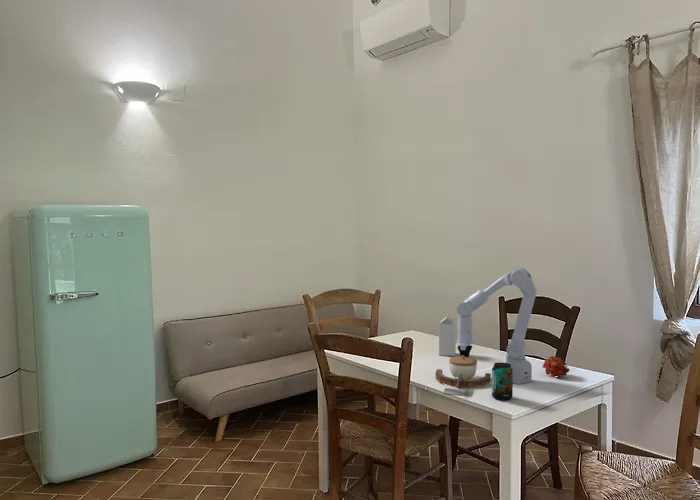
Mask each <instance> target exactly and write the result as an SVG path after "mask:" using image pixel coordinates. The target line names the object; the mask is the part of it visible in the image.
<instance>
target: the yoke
mask: <svg viewBox="0 0 700 500" xmlns="http://www.w3.org/2000/svg"><path fill="white" fill-rule="evenodd" d="M434 374H435V377H434V378H436V379H437V380H438V383H440V382H441V383H440V384H442V383H444V384H443V385H445V384H447V385H446V386H449V385H450V386H449V387H445V388H444V390H443V392H442V394H443V395H453V396H462V395H465V396H464V397H472V396H473V392H474V391H473V390H471V389H472V388H482V387H485V386H487V385H490V384H491V382H492V372H490V373H488V372H485V375H484V376H482V377H479V378H471V379H469V380H465V379H463V383H459V385H458V387H457V388H450V387H453V386H456V384H457V382H456V379H455V377H454V378H453V377H450V376H446V375H444V374H443V369H441V368H440V369H439V368H437V369H436V371H435V373H434ZM436 379H435V380H436ZM437 380H436V381H437ZM464 387H466V388H468V389H463V388H464ZM458 388H461V389H458ZM470 388H471V389H470Z"/></svg>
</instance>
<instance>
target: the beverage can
mask: <svg viewBox="0 0 700 500" xmlns="http://www.w3.org/2000/svg"><path fill="white" fill-rule="evenodd" d="M491 396H492V398H493V399H495V400H497V401H502V400H507V401H510V400H511V399H513V370H512V368H511V365H510V364H508V363H506V362H500V361H499V362H495V363H493V367H492V368H491Z"/></svg>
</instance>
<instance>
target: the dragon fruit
mask: <svg viewBox="0 0 700 500" xmlns="http://www.w3.org/2000/svg"><path fill="white" fill-rule="evenodd" d="M542 368H544V369H545V374H546V375H547V376H548V375H551V376H552V377H554V376H558V377H561V376H565V377H566V375H567V374H568V373H569V372H570V371H571V370H570V368H569V366H568V365H567V363H566V362H565V361H564V360H562V359H561V358H560V357H558V356H554V355H553V356H549V357H547V358H546V359H545V360H544V363H543V364H542ZM560 375H561V376H560Z"/></svg>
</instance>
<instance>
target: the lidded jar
mask: <svg viewBox="0 0 700 500" xmlns="http://www.w3.org/2000/svg"><path fill="white" fill-rule="evenodd" d="M477 364H478V360H477V358H474V357H472V356H471V357H470V356H469V357H464V355H462V356H460V355H459V356H451V357H450V358H449V370H450V373H451V375H452V377H454V379H456V377H457V376H460V374H462V377H463V379H465V380H469V379H474V378H473V377H475V375H476V372H477V368H478V367H477V366H478V365H477Z"/></svg>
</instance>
